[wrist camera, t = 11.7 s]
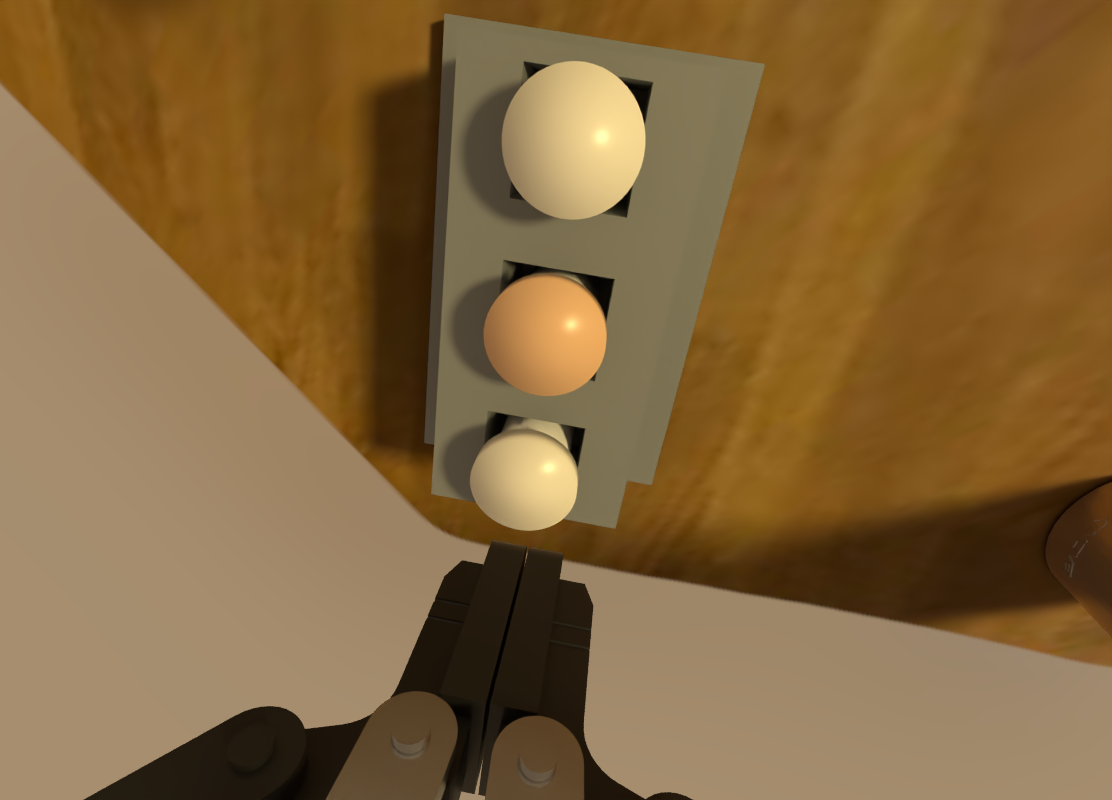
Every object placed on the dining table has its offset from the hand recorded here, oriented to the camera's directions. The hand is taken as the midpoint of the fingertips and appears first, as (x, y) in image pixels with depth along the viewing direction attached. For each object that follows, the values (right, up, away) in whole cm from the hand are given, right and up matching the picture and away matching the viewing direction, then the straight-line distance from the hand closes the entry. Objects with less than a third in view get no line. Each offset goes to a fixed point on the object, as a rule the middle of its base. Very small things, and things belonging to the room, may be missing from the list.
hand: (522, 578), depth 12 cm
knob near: (+2, +16, +14) cm, 21 cm away
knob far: (0, +3, +20) cm, 21 cm away
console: (+1, +10, +18) cm, 21 cm away
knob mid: (+1, +10, +17) cm, 20 cm away
